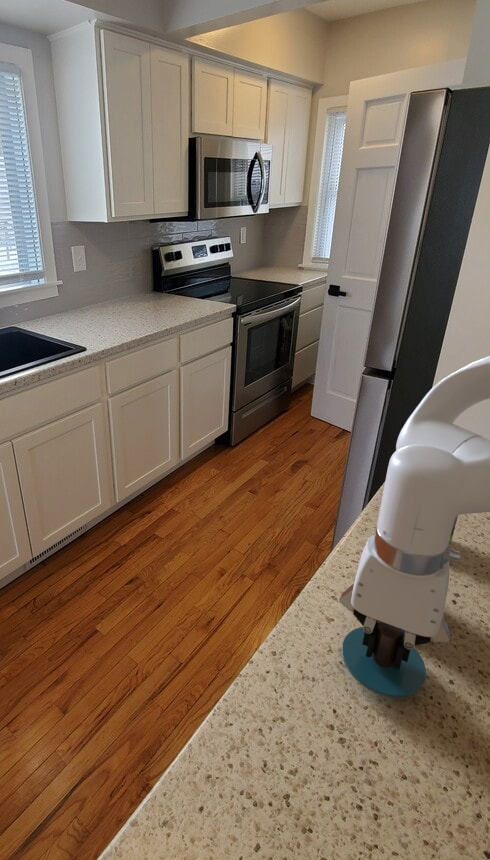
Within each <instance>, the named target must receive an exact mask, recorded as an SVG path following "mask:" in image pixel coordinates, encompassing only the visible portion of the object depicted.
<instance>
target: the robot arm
mask: <svg viewBox="0 0 490 860" xmlns="http://www.w3.org/2000/svg"><path fill="white" fill-rule="evenodd" d="M489 399H490V355H488V356H485V357H483V358H481V359H478V360H476V361H473V362H471V363H469V364H466V365H465V366H463V367H462V368H460V369H458V370H456V371H454V372H452V373H451V374H449V375H447V376H446V377H444V378H442V379H440V381H439V382H437V383H436V384H435V385H434V386H432V388H431V389H429V391H428V392H427V393H426V394H425V396H424V397H423V398H422V400H421V401H420V402H419V404H418V405H417V406H416V407H415V409H414V410H413V412H412V413H411V414H410V415H409V417H408V418H407V420H406V421H405V423H404V425H403V427H402V428H401V430H400V432H399V434H398V437H397V440H396V444H395V451H394V452H393V453H392V455H391V456H390V458H389V462H388V466H387V471H386V476H385V481H384V486H383V491H382V497H381V500H380V501H381V502H380V508H379V512H378V517H377V523H376V528H375V534H373V535H370V536H369V538H368V539H367V541H366V543H365V545H364V547H363V549H362V552H361V556H360V558H359V562H358V566H357V570H356V573H355V578H354V582H353V583H352V584H351V585H350V586H349V587H347V588H346V589H345V590H344V591H343V592H342V593H341V594H340V598H339V603H340V604H341V606H343V607H344V608H346V609H347V610H348V611H350V612H352V614H353V617H355V618H356V619H357V621H358V622H359V623H360V624H361V626H362V627H363V631H364V632H365V633H364V638H363V643H362V644H363V645H365V646H368V647H367V652H366V656H367V657H369V658H370V657H372V653H373V648H374V644H375V639H376V634H377V628H378V624H379V623H380V622H378V620H379V621H382V622H384V623H387V624H390V625H392V626H395V627H398V628H400V629H403V630H401V638H400V640H399V644H398V649H397V653H396V657H395V661H394V667H395V668H396V669H400V665H401V661H402V660H403V661H405V662H407V661H408V658H409V654H410V650H412V649H414V648H415V647H416V646H420V645H425V644H429V643H431V642H432V643H445V644H447V643H450V641H451V630H450V628H449V625H448V623H447V621H446V617H445V615H444V612H445V607H446V601H447V596H448V589H449V581H450V563H455V564H460V561H461V556H462V551H460V550H457V549H456V550H455V549H454V548H452V547H451V545H449V544H448V543H449V539H450V536H451V532H452V528H453V525H454V521H455V518H456V516H458V517H459V516H460V515H467V514H468V515H469V514H481V513H490V439H488V438H485V437H483V435H480V434H477V433H475V432H474V431H471V430H468V429H466V428H463V427H461V426H459V425H457V424H454V422H455V421H456V419H458V417H459V416H461V415H462V414H463V413H464V412H465V411H467V410H468V409H469V408H471V407H473V406H474V405H476V404H479V403H481V402H483V401H486V400H489Z"/></svg>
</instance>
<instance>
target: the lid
mask: <svg viewBox="0 0 490 860" xmlns="http://www.w3.org/2000/svg"><path fill="white" fill-rule="evenodd" d="M401 631H402V630H401V629H400V628H398V627H395V626H392V625H390V624H387V623H384V622H382V621H381V622H379V624H378V628H377V634H376V639H375V644H374V648H373V653H372V657H370V658H369V657H367V656H366V652H367V647H368V646H365V645H363V644H362V643H363V638H364V633H365V632H364V631H363V626H360V627H357V628H354V629H352V630H351V631H349V632H348V633H347V635H345V637H344V638H343V641H342V645H341V657H342V661H343V663H344V665H345V667H346V669H347V671H348V673H350V675H351V676H352V677H353V679H355V680H356V681H357V682H358V683H359V684H360V685H362V686H363V687H364V688H366V689H368V690H369V691H371V692H373V693H375V694H378V695H381V696H383V697H387V698H392V699H404V698H409V697H412V696H414V695H417V694H418V693H419V692H420V691H421V690H422V689H423V687H424V685H425V683H426V678H427V670H426V665H425V662H424V660H423V658H422V655H421V654H420V653H419V652H418V650H417V649H416V648H415V647H414V649H412V650H410V654H409V658H408V661H407V662H405V661H403V660H402V661H401V665H400V669H396V668H395V667H394V661H395V657H396V653H397V649H398V644H399V640H400V638H401Z"/></svg>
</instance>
